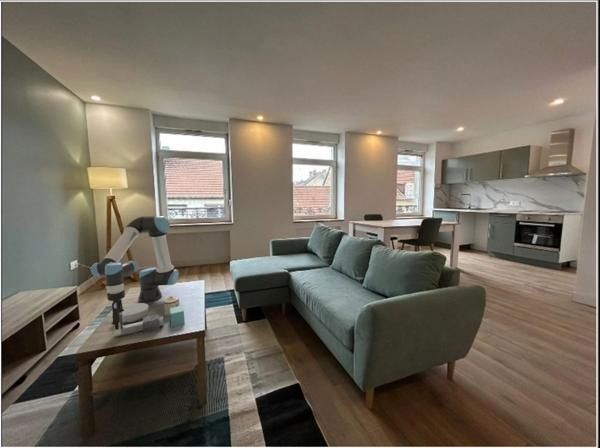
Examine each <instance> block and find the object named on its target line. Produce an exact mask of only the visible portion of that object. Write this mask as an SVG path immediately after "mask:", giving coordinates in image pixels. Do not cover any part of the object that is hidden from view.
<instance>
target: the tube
mask: <svg viewBox="0 0 600 448" xmlns="http://www.w3.org/2000/svg"><path fill="white" fill-rule="evenodd" d="M119 321H120V327H121V334H119V335H114V336H115V337H120V336H124V335H128V334H131V333H132V334H133V333H137V332H141V331H143V320H142V321H138V322H135V323H134V322H132V323H129V324H125V325H124V323H123V318H122V315H119ZM159 324H160V327H162V326H164V316H159Z"/></svg>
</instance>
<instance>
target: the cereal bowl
mask: <svg viewBox="0 0 600 448" xmlns="http://www.w3.org/2000/svg"><path fill="white" fill-rule="evenodd" d="M122 307H123V309H124V311H122V312H123V321H124V323H134V322H135V323H136V322H137V321H139V320H141V319H143V317H146V316H147V314H148V312H149V305H148V303H142V302H139V303H132V304H127V305H126V306H122Z"/></svg>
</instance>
